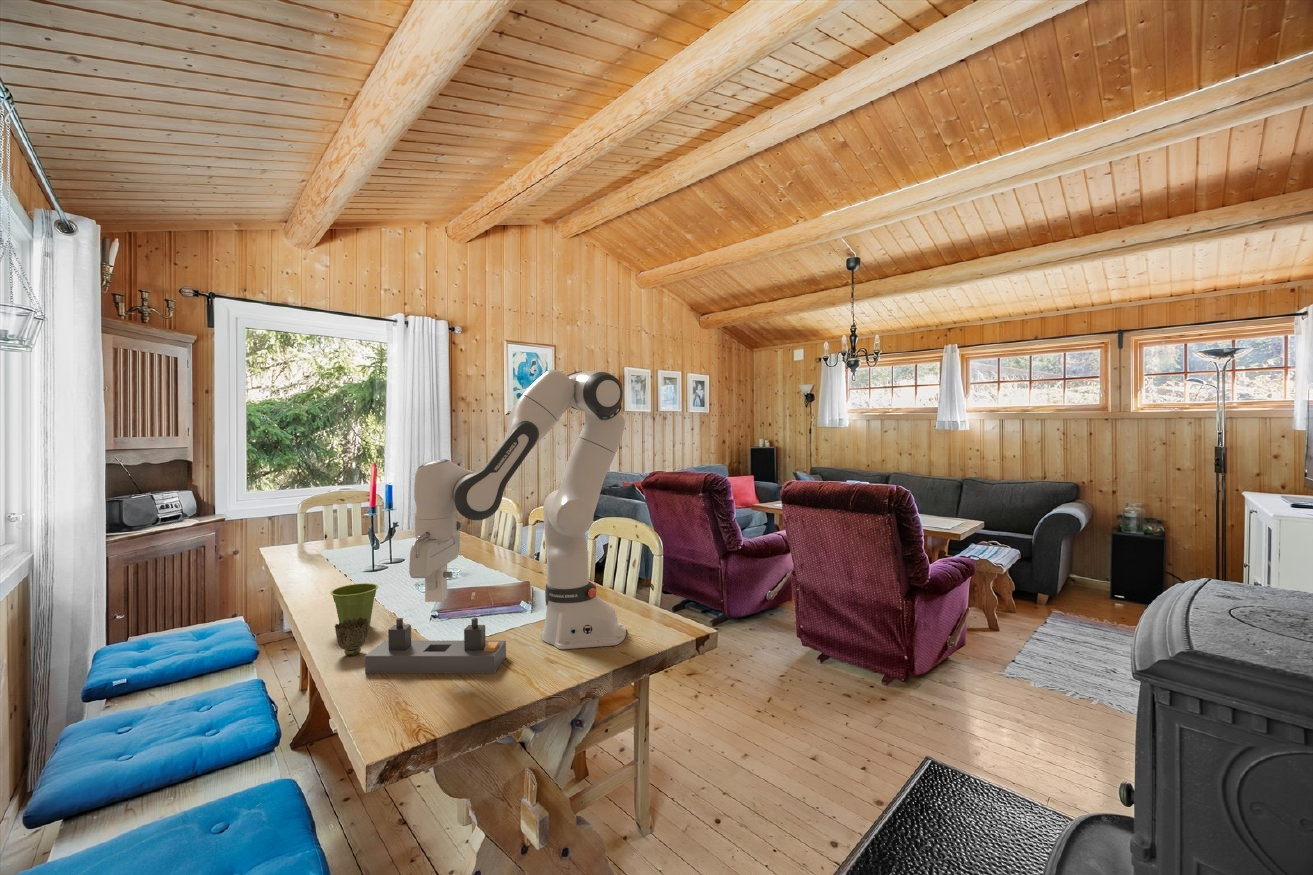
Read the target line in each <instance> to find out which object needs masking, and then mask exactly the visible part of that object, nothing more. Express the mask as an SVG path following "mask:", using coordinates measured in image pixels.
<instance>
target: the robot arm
mask: <svg viewBox="0 0 1313 875" xmlns="http://www.w3.org/2000/svg"><path fill="white" fill-rule="evenodd" d="M623 390H624V389H623V386H622V383H621V381H620V380H619V379H618V378H617V377H616V376H614V375H613V374H611V373H609V372H607V371H599V370H586V371H584V370H583V371H580V370H579V371H574V372H572V373H571V372H570V374H566V373H564V372H562V371H561V370H557V369H549V370H546V371H545V372H543V374H541V375H540V376H539V377H538V378H537V379H536V380H535V381H533V382H532V383H531V384H530V385H529V386H528V387H527V388H526V390H525V391H523V393H522V395H521V396H520V397H519V398H518V399H517V401H516V402H515V403H514V406H513V407H512V408H511V411H510V412H509V415H508V416H507V428H506V434H505V437H504V439H503V441H502V442H501V444H500V446H499V447H498V448H497V450H496V451H495V452H494V453H493V455H492V456H490V457H491V458H490V459H489V460H488V462H486V464H485V465H484V466H483V468H481V470H479V472H477V471H473V470H469V469H467V468H464V467H463V466H460V465H458V464H456V463H454V462H452V461H451V460H450V459H445V458H443V459H437V460H431V461H428V462H424V463H422V464H420V466H418V468H417V469H416V471H415V476H414V485H413V486H414V487H413V491H414V492H413V495H414V496H413V497H414V504H415V506H416V508H415V510H416V511H415V514H414V532H415V533H414V537H415V539H416V540H415V542H414V543H413V544H411V547H410V552H409V564H408V566H409V567H408V568H409V571H408V572H409V576H410V578H411V579H424V581H425V580H426V582H427V589H428V590H435V589H436V588H437V581H436V580H435V575H436V571H437V570H439V569H440V568H441V567H443V566H444V565H447V566H448V564H449V563H452V562H453V561H454V560H456V559H458V557H459V553H460V550H461V549H460V548H461V532H460V531H461V530H462V521H461V520H458V519H457V518H456V515H455V514H456V512H458V513H459V514H460V515H461V516H462V517H463V518H465V519H468V520H471V521H483V520H486V519H489V518H490V517H492V516H493V515H494V514H495V513H496V512H497V511H498V510H499V508H500V506H501V504H502V501H503V496H504V491H505V488H506V487H507V484H508V483H509V481H510V480H511V478H512V477H513V475H514V474H515V473H516V471H517V470H518V469H519V467H520V465H521V464H522V463H523V461H524V460H525V459H526V457H527V456H528V454H529V453H531V451H532V450H533V449H534V448H535V447H536V445H538V444H539V443H540V442H541V440H543V439H544V437H545V436H546V435H547V434H548V433H549V432H550V431H551V430H553V428H554V426H555V425H556V424H557V422H558V421H559V420H560V419H561V417H562V415H563V414H564V413H566V411H567V410H568V409H573V410H577V411H580V412H584V424H583V427H582V429H581V432H580V434H579V435H578V438H576V442H575V444H574V446H573V449H572V451H571V453H570V455H569V457H568V459H567V462H566V464H565V468H564V473H563V475H562V478H561V483H560V486H559V487H558V489H555V490H553V491H552V492H550V493H549V494H548V495H547V496H546V497H545V500H544V502H543V508H542V511H543V513H542V514H543V528H544V541H545V549H546V550H545V551H546V581H547V582H546V584H545V589H544V598H545V606H546V612H545V621H544V625H543V629H542V630H543V631H542V634H541V639H542V641H544V642H546V643H547V644H550V645H553V646H554V647H556V648H557V649H559V650H570V649H583V648H594V647H596V648H598V647H610V646H617V645H619V644H621V643H622V642H623V641H624V640H625V638H626V635H627V631H626V630H627V629H626V626H625V624H623V623H621V622H619V621H618V617H617V612H616V610H615V608H614V606H612V605H610V604H609V603H607V602H606V601H605V600H603V599H602V598H600V597H599V596H598V595H597V584H596V582H594V583H592V582H591V581H589V580H590V579H589V576H590V575H589V571H590V570H589V550H588V544H587V539H586V538H587V537H586V534H587V532H588V531H589V530H590V529H591V527H592V526H593V522H594V517H595V511H596V508H597V506H598V503H599V500H600V495H601V492H602V488H603V485H604V481H605V479H606V477H607V474H608V471H609V469H610V467H611V465H612V463H613V460H614V459H615V456H616V454H617V452H618V449H619V446H620V444H621V440H622V437H623V435H624V430H625V425H626V422H625V421H626V420H625V417H624V416H623V415H622V413H621V410H622V402H623V397H624V396H623V395H624V391H623Z"/></svg>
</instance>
